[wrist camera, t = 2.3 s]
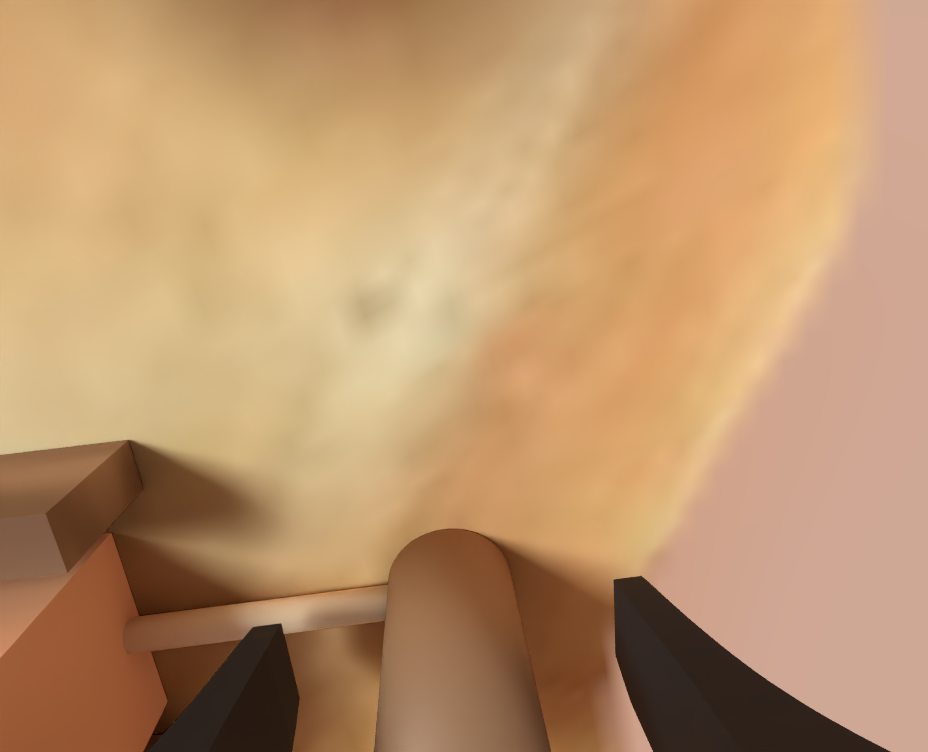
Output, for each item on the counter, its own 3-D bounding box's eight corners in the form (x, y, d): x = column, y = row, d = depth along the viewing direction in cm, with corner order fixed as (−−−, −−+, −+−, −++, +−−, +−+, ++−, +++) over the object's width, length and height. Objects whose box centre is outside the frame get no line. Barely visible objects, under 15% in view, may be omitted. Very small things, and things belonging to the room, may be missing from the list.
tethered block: (517, 655, 15) (573, 931, 10) (-33, 728, 15) (-312, 1063, 9) (502, 484, 14) (558, 696, 8) (-114, 560, 13) (-509, 839, 8)
